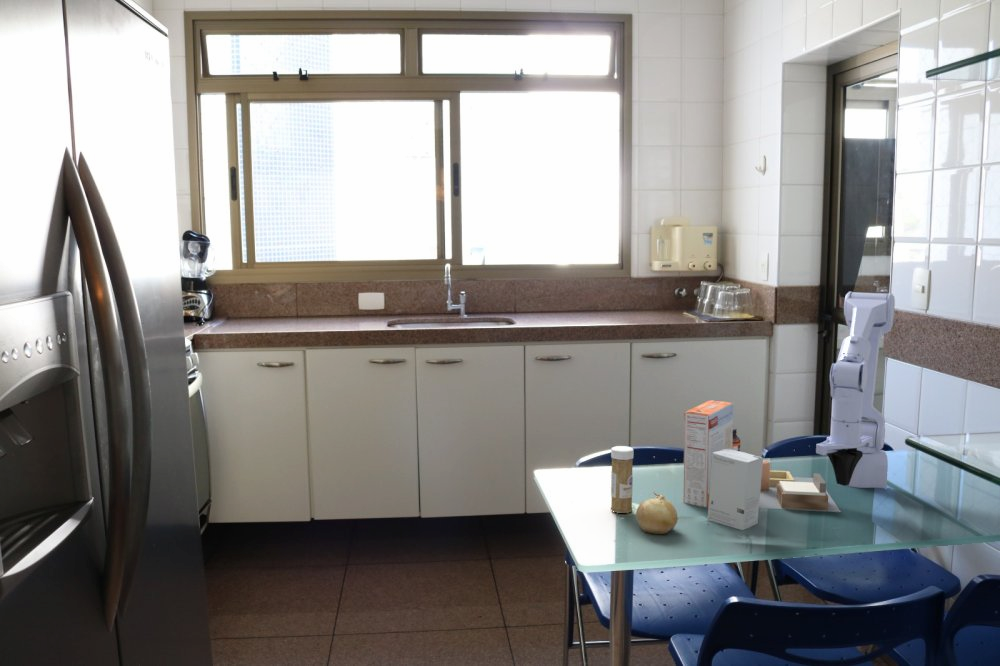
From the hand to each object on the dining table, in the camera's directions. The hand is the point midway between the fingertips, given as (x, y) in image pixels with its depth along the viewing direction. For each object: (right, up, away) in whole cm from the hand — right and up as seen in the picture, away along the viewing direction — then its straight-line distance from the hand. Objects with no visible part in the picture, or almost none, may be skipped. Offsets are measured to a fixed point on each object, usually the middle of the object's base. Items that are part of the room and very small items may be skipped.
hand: (842, 484), depth 175 cm
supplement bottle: (-17, -3, +27) cm, 32 cm away
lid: (-8, -1, +1) cm, 8 cm away
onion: (-40, -8, -10) cm, 42 cm away
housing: (-8, -4, +2) cm, 9 cm away
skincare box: (-25, -7, -8) cm, 27 cm away
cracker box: (-26, -5, +7) cm, 28 cm away
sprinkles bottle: (-46, -6, +1) cm, 46 cm away
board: (-8, -5, +10) cm, 13 cm away
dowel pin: (-13, -3, +12) cm, 18 cm away
